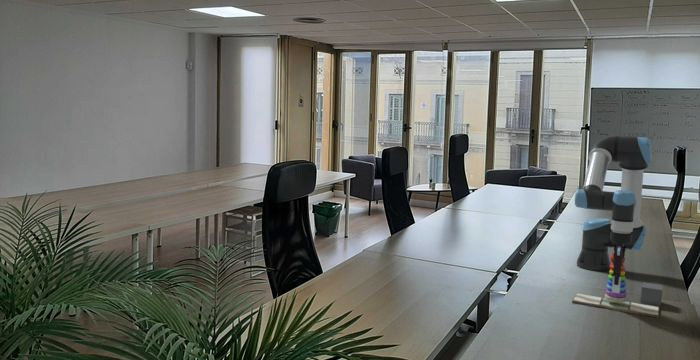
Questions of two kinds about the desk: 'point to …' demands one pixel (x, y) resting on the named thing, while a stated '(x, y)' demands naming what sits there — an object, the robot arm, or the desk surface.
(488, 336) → the desk surface
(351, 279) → the desk surface
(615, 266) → the robot arm
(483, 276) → the desk surface
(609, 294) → the stacking toy
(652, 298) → the grey plain cubic block
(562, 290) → the desk surface
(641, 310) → the board
